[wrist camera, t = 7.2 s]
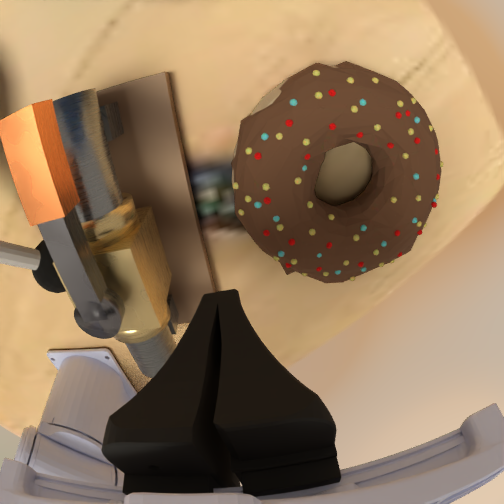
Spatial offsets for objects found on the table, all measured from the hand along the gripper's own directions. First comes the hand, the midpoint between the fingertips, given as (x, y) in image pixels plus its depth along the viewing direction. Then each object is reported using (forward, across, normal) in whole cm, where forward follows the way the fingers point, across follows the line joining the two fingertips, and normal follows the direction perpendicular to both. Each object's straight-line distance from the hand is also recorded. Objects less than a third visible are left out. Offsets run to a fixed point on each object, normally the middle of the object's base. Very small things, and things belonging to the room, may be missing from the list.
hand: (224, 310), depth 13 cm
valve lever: (+3, +6, -4) cm, 8 cm away
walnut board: (+10, +6, -1) cm, 12 cm away
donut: (+11, -8, -2) cm, 13 cm away
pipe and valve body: (+9, +6, -1) cm, 11 cm away
